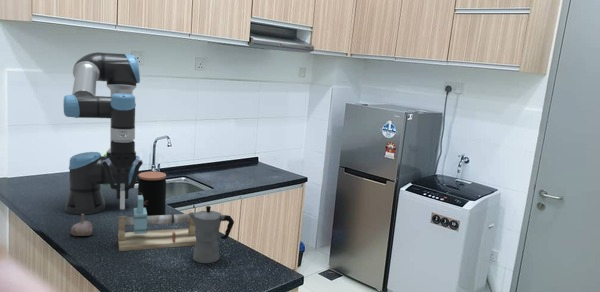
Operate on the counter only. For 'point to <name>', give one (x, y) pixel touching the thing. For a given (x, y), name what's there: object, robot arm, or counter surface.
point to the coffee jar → (153, 192)
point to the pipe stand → (156, 233)
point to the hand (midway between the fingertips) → (122, 207)
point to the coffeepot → (208, 234)
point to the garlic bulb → (82, 228)
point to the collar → (140, 217)
